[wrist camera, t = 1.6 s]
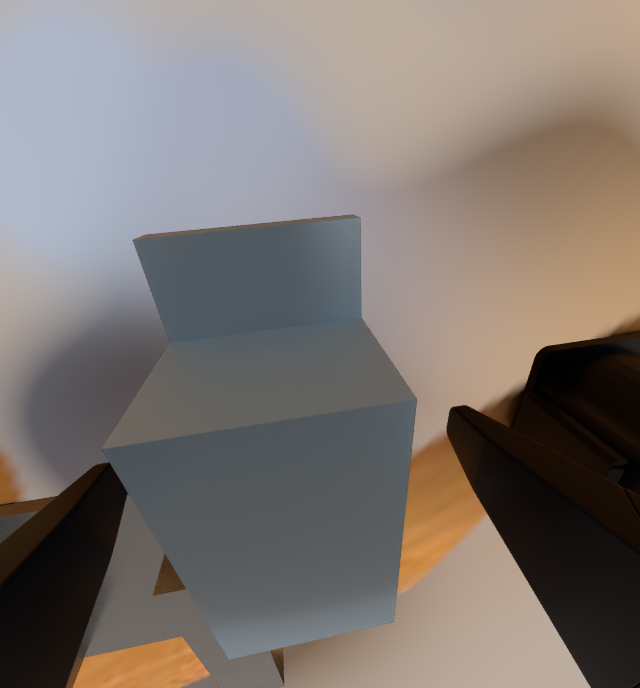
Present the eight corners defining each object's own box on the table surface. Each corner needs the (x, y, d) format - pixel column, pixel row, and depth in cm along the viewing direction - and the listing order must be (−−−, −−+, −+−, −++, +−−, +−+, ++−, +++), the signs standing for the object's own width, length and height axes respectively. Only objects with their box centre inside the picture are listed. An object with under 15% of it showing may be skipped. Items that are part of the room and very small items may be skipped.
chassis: (276, 459, 14) (278, 555, 10) (305, 598, 21) (312, 685, 17) (-165, 533, 12) (-346, 679, 9) (24, 658, 19) (-33, 769, 15)
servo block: (190, 216, 9) (6, 291, 3) (324, 204, 9) (432, 244, 3) (256, 468, 14) (245, 687, 8) (339, 454, 14) (390, 652, 8)
